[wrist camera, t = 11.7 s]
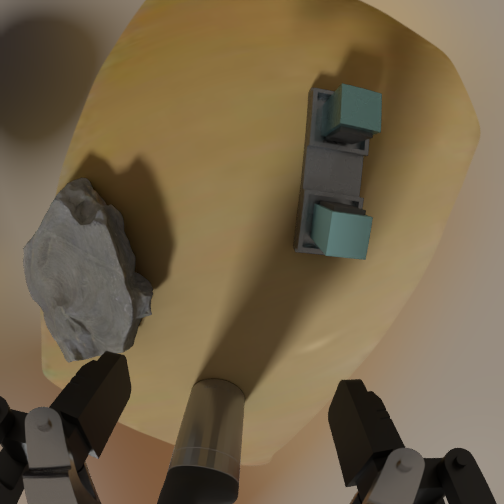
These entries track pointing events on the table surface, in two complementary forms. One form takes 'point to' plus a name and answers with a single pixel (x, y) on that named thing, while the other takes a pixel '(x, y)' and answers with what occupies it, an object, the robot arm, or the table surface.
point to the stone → (86, 275)
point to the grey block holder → (334, 152)
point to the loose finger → (341, 230)
